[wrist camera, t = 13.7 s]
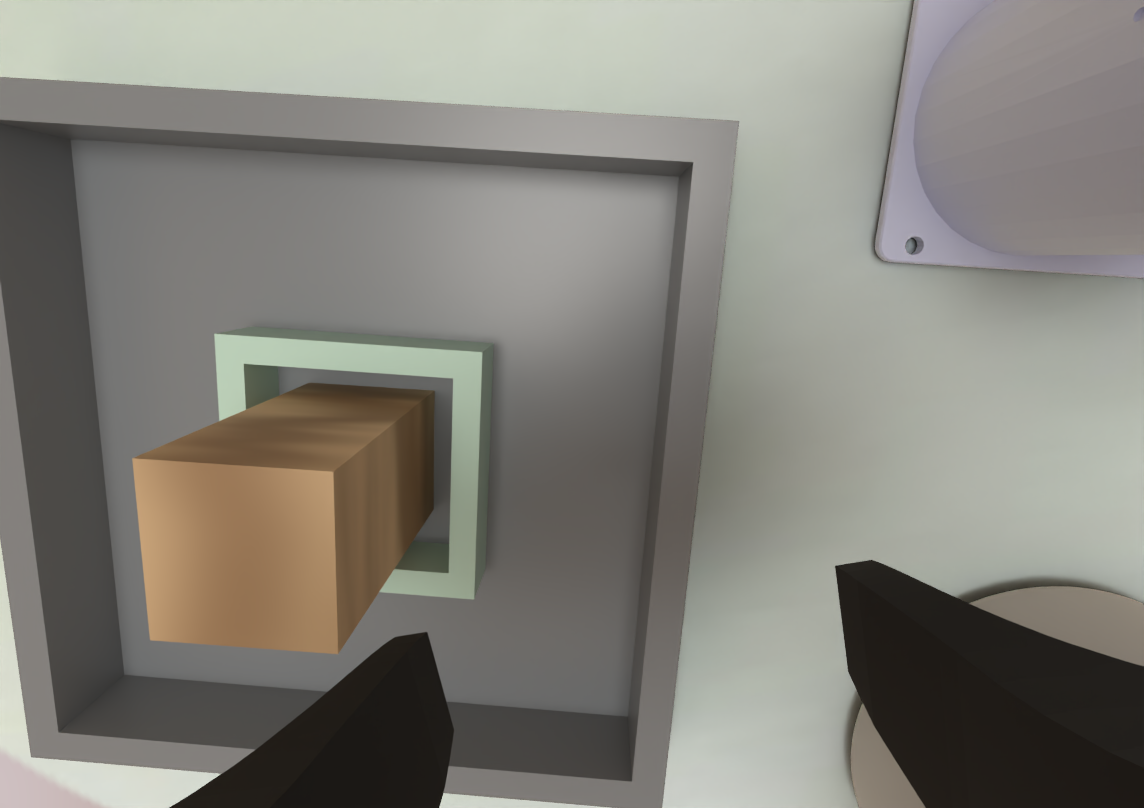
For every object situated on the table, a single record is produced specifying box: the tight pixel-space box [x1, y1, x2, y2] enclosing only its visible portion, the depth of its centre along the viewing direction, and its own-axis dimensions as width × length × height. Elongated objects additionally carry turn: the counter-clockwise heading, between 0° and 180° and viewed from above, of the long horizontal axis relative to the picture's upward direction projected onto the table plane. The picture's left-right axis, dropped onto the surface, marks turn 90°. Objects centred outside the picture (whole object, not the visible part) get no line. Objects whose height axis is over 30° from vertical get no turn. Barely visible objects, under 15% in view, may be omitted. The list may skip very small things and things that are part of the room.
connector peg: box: [132, 383, 435, 654], centre depth 17 cm, size 4×4×8 cm
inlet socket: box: [214, 327, 494, 600], centre depth 20 cm, size 8×8×2 cm
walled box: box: [0, 77, 739, 808], centre depth 20 cm, size 20×20×4 cm
